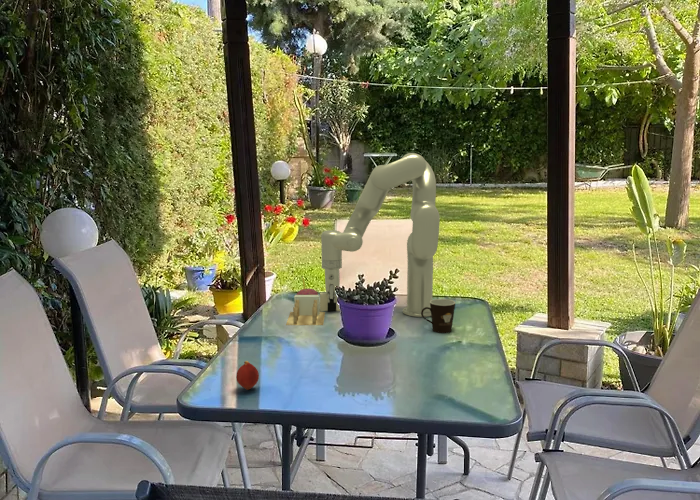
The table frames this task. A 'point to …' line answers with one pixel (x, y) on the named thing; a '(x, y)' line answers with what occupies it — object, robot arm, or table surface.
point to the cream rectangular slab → (326, 302)
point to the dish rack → (305, 316)
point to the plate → (307, 304)
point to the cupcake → (306, 290)
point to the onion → (247, 375)
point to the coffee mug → (441, 315)
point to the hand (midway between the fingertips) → (332, 311)
